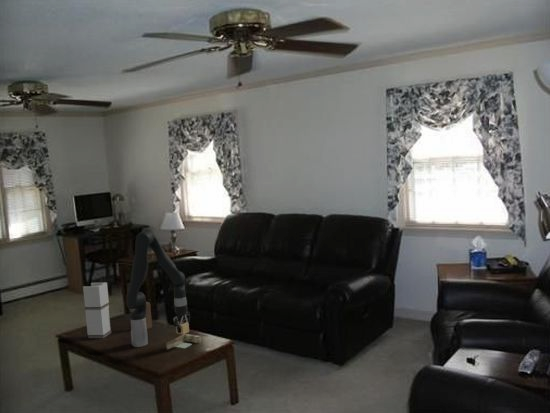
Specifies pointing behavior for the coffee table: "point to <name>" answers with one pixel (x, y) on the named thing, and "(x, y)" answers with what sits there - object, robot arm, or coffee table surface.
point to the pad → (183, 345)
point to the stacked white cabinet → (97, 310)
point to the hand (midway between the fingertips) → (182, 330)
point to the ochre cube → (183, 328)
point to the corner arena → (183, 338)
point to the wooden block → (148, 316)
